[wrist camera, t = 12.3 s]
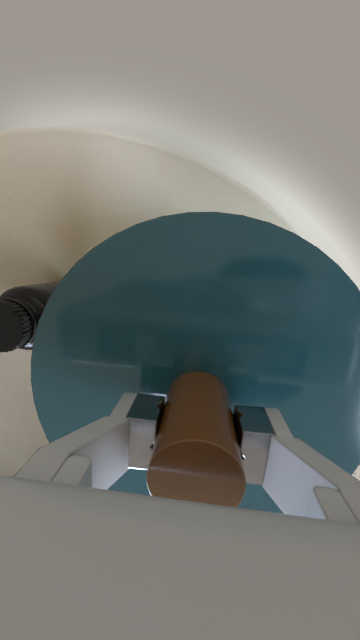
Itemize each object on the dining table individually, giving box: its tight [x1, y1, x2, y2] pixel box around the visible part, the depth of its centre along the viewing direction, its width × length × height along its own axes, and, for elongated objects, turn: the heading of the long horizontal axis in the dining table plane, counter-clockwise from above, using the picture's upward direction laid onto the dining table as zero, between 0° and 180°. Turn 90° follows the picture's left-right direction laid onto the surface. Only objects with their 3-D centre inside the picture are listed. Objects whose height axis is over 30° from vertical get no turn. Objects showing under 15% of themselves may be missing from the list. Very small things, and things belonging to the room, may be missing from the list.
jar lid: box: [31, 212, 360, 514], centre depth 9 cm, size 15×15×5 cm
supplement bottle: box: [0, 282, 60, 352], centre depth 28 cm, size 7×7×12 cm
